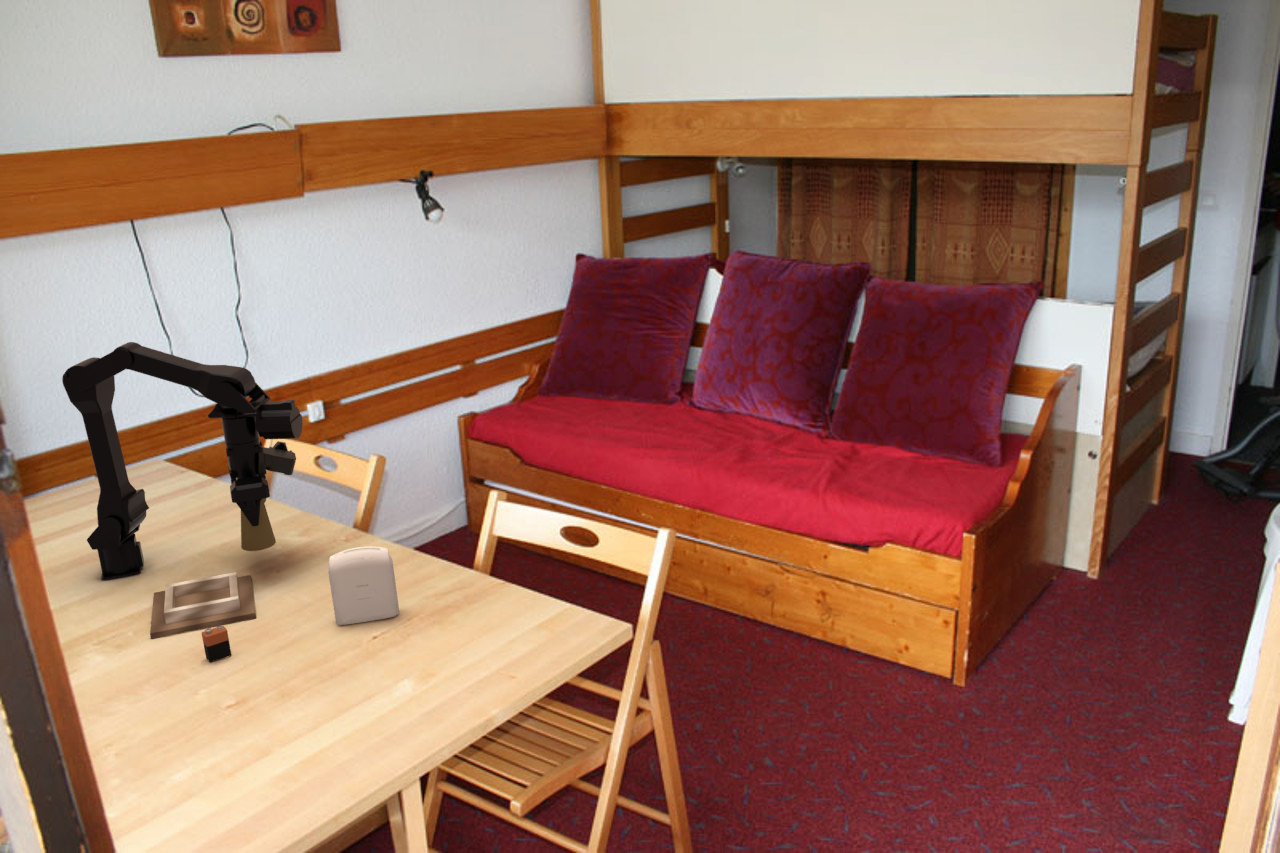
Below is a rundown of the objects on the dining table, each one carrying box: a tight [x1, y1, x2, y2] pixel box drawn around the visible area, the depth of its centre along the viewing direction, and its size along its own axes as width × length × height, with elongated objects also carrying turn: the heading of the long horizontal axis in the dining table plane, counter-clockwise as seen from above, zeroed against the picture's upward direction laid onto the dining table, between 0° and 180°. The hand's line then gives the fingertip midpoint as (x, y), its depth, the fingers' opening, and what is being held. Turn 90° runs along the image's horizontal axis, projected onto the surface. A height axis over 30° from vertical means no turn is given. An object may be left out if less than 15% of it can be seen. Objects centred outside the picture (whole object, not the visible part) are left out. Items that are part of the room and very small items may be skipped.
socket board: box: [149, 571, 257, 640], centre depth 178 cm, size 16×16×3 cm
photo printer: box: [327, 546, 400, 626], centre depth 171 cm, size 10×4×12 cm, turn 104°
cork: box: [240, 498, 277, 552], centre depth 191 cm, size 6×6×11 cm
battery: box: [201, 625, 232, 663], centre depth 162 cm, size 2×3×5 cm, turn 129°
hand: (254, 521), depth 191 cm, fingers closed on cork, 4 cm apart
